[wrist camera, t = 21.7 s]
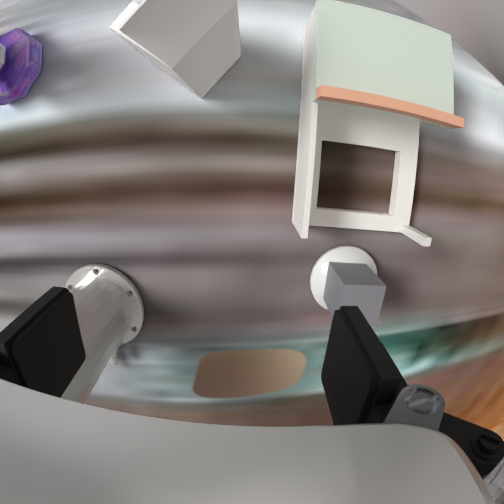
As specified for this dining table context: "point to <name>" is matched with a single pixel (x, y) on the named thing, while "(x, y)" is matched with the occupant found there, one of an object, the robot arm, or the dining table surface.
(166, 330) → the dining table surface
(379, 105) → the cover
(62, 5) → the dining table surface
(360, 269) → the block
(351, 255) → the white flat disc
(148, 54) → the milk carton
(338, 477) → the robot arm
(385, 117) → the frame with rectangular opening
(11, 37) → the lantern
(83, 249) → the dining table surface
